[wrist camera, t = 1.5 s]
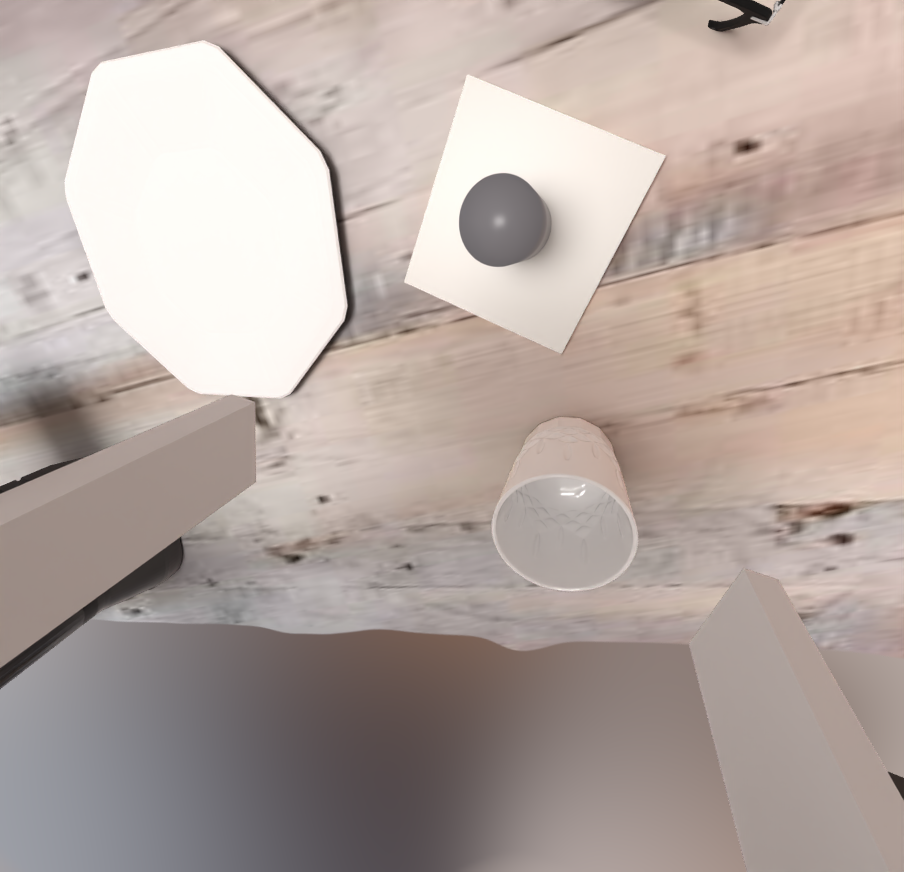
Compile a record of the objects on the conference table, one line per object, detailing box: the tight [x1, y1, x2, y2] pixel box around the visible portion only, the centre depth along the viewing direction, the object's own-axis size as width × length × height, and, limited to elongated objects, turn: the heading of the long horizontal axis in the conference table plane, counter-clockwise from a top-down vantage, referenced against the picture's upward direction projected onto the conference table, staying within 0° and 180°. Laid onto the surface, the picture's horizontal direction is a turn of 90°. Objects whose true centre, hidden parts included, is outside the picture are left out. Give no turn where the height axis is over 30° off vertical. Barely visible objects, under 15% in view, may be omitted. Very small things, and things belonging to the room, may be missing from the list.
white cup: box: [491, 417, 638, 592], centre depth 28 cm, size 8×8×10 cm
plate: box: [64, 40, 349, 399], centre depth 33 cm, size 24×24×2 cm
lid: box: [404, 74, 666, 354], centre depth 24 cm, size 12×12×8 cm
